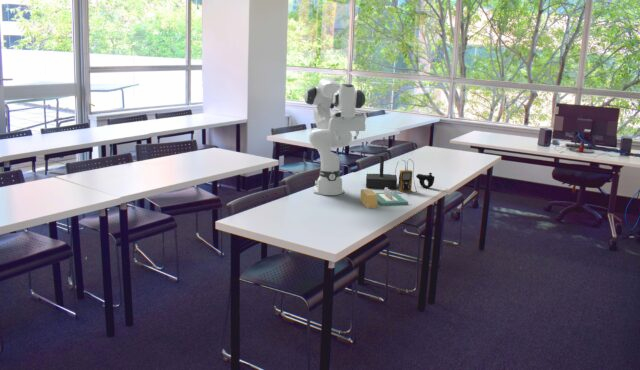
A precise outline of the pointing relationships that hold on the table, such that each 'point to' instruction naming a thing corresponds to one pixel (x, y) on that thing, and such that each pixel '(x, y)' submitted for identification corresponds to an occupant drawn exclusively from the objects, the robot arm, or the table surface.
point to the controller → (425, 177)
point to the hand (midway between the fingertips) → (347, 139)
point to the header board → (383, 202)
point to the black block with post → (381, 178)
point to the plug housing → (368, 198)
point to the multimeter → (405, 180)
